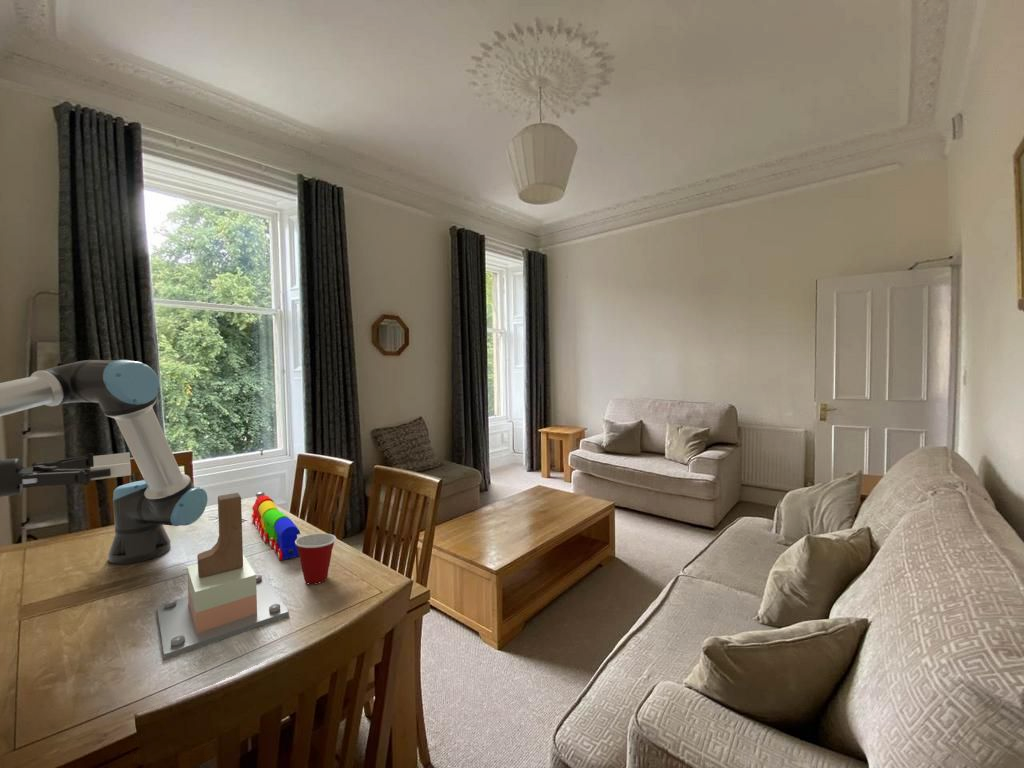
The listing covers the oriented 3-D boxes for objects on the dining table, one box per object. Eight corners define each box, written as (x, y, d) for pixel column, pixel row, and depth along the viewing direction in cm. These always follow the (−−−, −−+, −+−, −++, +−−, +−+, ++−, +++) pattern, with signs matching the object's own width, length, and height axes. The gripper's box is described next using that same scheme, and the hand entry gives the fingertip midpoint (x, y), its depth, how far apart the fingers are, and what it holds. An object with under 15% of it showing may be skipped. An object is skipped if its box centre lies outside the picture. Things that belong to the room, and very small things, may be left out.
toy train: (247, 522, 169) (246, 493, 168) (268, 517, 174) (267, 489, 173) (280, 564, 136) (279, 527, 135) (305, 556, 141) (304, 522, 140)
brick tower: (157, 609, 110) (155, 567, 110) (264, 578, 126) (263, 541, 126) (164, 659, 92) (162, 609, 92) (288, 616, 108) (287, 573, 108)
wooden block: (199, 578, 105) (196, 504, 103) (197, 571, 108) (195, 499, 107) (243, 567, 110) (241, 496, 109) (240, 561, 114) (238, 492, 112)
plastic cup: (345, 575, 129) (344, 534, 128) (314, 592, 119) (313, 549, 118) (318, 567, 133) (317, 528, 133) (286, 583, 123) (285, 541, 123)
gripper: (5, 483, 100) (130, 468, 114) (-21, 514, 81) (132, 491, 95) (3, 450, 99) (128, 439, 113) (-24, 473, 80) (130, 456, 94)
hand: (130, 463), depth 104 cm, fingers open, 13 cm apart
